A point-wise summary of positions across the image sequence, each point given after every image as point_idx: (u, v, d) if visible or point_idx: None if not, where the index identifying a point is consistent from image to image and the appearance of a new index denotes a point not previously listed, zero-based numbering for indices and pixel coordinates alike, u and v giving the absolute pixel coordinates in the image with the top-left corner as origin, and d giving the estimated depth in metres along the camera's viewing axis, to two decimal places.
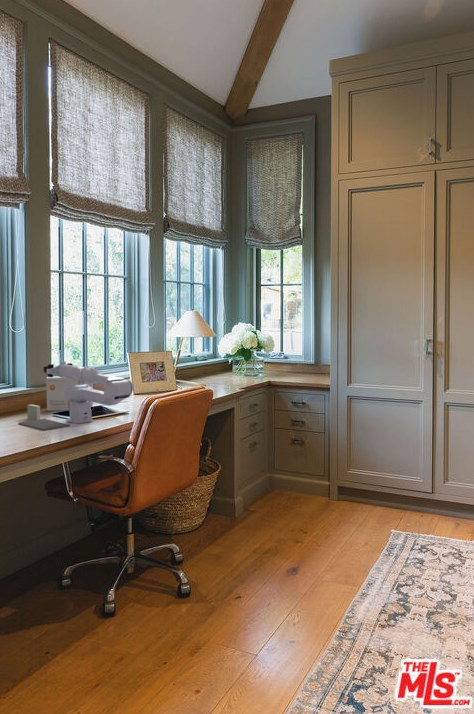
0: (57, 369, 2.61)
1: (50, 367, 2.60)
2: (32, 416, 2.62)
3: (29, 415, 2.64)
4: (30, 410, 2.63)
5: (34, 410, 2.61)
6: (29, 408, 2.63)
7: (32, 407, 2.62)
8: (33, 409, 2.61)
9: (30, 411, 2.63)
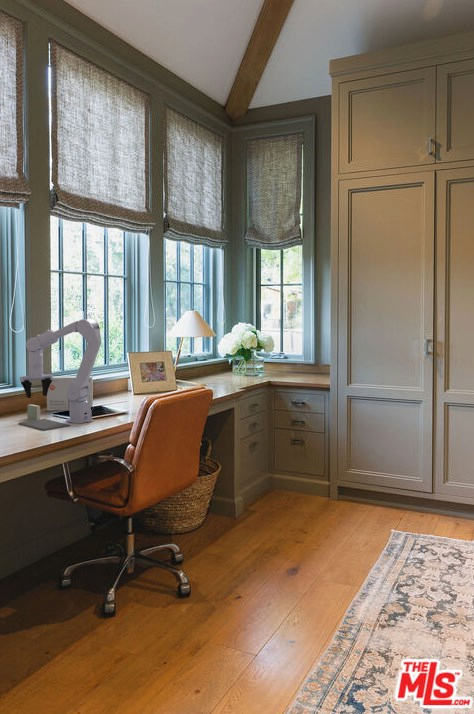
0: None
1: None
2: (32, 416, 2.62)
3: (29, 415, 2.64)
4: (30, 410, 2.63)
5: (34, 410, 2.61)
6: (29, 408, 2.63)
7: (32, 407, 2.62)
8: (33, 409, 2.61)
9: (30, 411, 2.63)
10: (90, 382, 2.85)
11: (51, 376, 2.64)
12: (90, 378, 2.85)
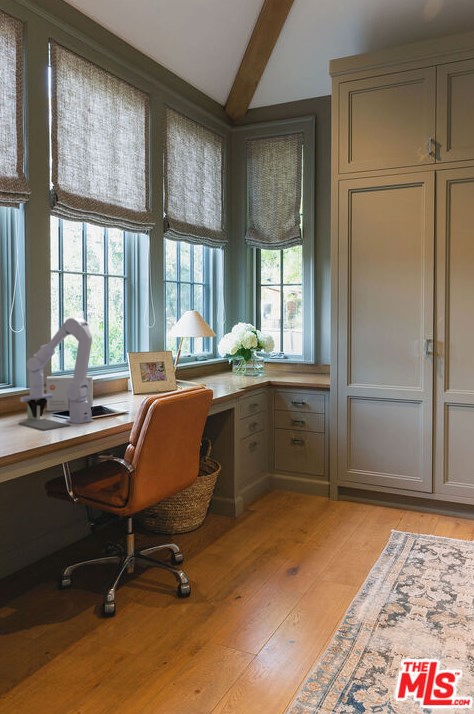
0: None
1: None
2: (32, 416, 2.62)
3: (29, 415, 2.64)
4: (30, 410, 2.63)
5: None
6: (29, 408, 2.63)
7: None
8: None
9: (30, 411, 2.63)
10: (90, 382, 2.85)
11: (52, 395, 2.65)
12: (90, 378, 2.85)
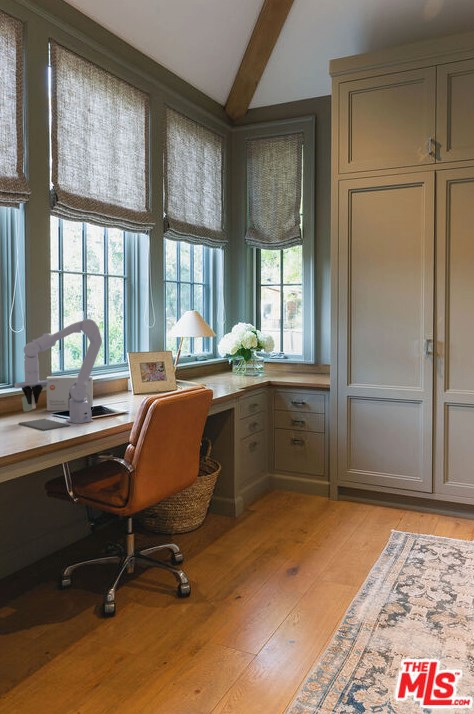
0: (24, 382, 2.50)
1: None
2: (27, 406, 2.53)
3: (24, 407, 2.55)
4: (24, 401, 2.54)
5: None
6: (23, 400, 2.55)
7: None
8: None
9: (25, 402, 2.54)
10: (90, 382, 2.85)
11: (47, 382, 2.56)
12: (90, 378, 2.85)
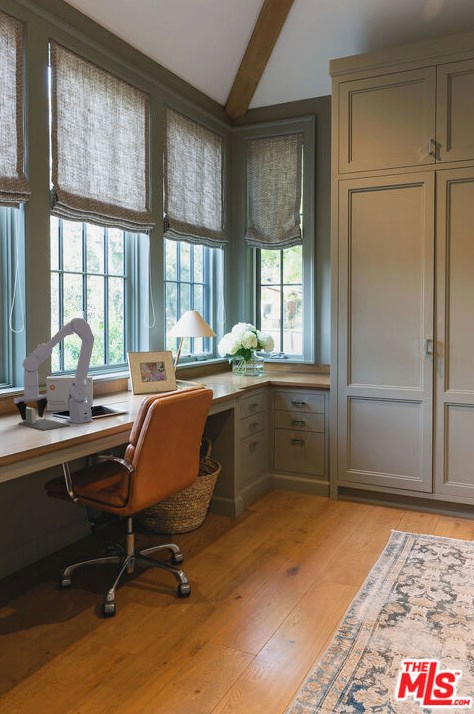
0: None
1: None
2: (27, 419, 2.51)
3: None
4: None
5: (29, 413, 2.50)
6: None
7: (27, 410, 2.51)
8: (28, 412, 2.50)
9: None
10: (90, 382, 2.85)
11: (47, 396, 2.54)
12: (90, 378, 2.85)
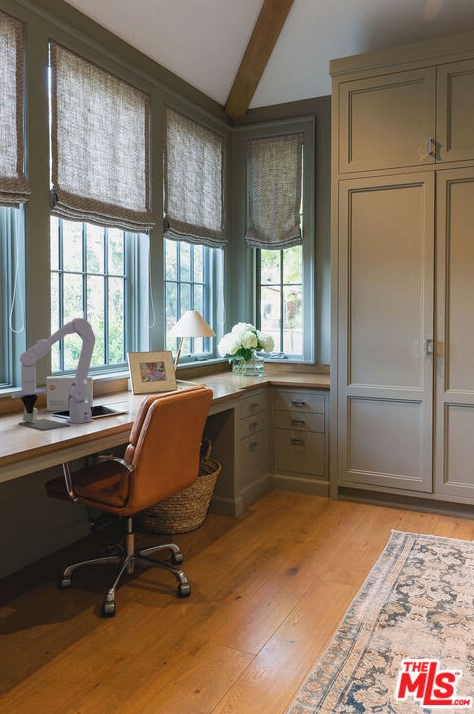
0: (21, 392, 2.47)
1: None
2: (28, 418, 2.52)
3: (25, 417, 2.53)
4: None
5: None
6: None
7: None
8: None
9: (26, 413, 2.53)
10: (90, 382, 2.85)
11: (44, 391, 2.53)
12: (90, 378, 2.85)
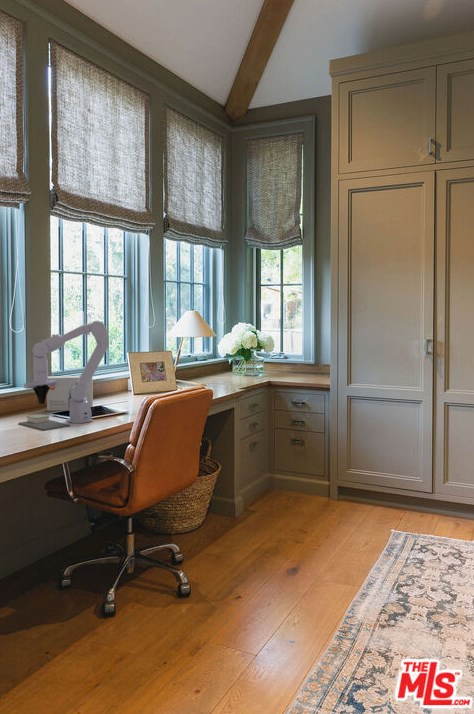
0: (33, 383, 2.51)
1: None
2: (34, 416, 2.54)
3: (31, 416, 2.56)
4: (38, 415, 2.57)
5: (43, 416, 2.55)
6: (38, 415, 2.58)
7: (43, 415, 2.57)
8: (42, 416, 2.56)
9: (37, 415, 2.56)
10: (90, 382, 2.85)
11: (56, 382, 2.57)
12: None
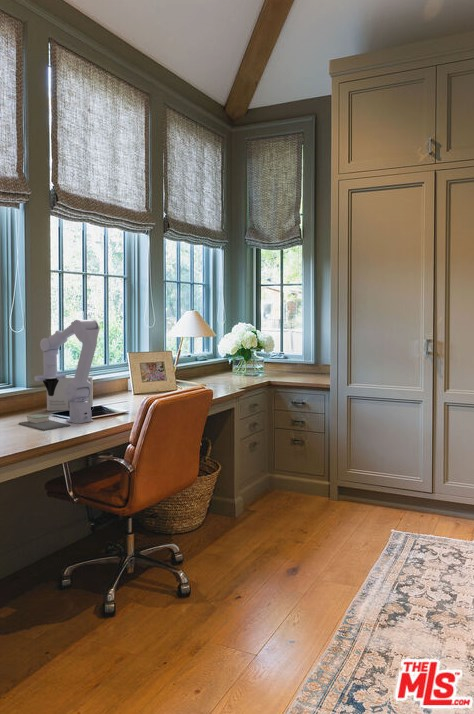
0: (43, 376, 2.65)
1: (38, 380, 2.64)
2: (34, 416, 2.54)
3: (31, 416, 2.56)
4: (38, 415, 2.57)
5: (43, 416, 2.55)
6: (38, 415, 2.58)
7: (43, 415, 2.57)
8: (42, 416, 2.56)
9: (37, 415, 2.56)
10: (90, 382, 2.85)
11: (65, 376, 2.71)
12: (90, 378, 2.85)
